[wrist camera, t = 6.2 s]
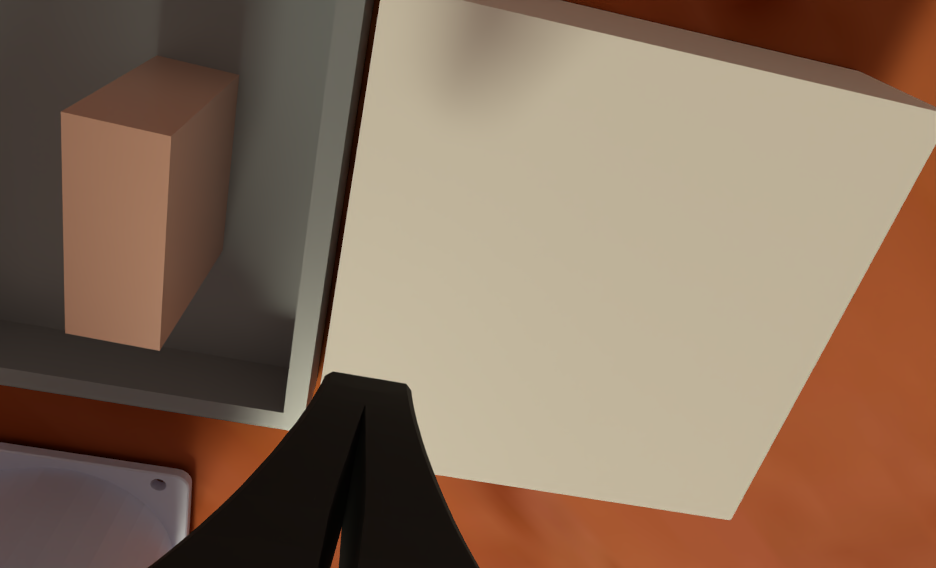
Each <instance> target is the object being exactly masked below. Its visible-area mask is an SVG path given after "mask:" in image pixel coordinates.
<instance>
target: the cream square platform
mask: <svg viewBox="0 0 936 568" xmlns="http://www.w3.org/2000/svg"><path fill="white" fill-rule="evenodd" d="M935 144H936V107H934V106H932V105H930V104H928V103H926V102H923V101H921V100H919V99H917V98H915V97H913V96H911V95H909V94H907V93H904V92H902V91H900V90H898V89H896V88H894V87H892V86H890V85H887V84H885V83H883V82H881V81H879V80H877V79H875V78H873V77H870V76H868V75H866V74H864V73H862V72H860V71H856V70H852V69H848V68H844V67H840V66H835V65H831V64H827V63H823V62H819V61H814V60H810V59H806V58H802V57H798V56H793V55H789V54H785V53H781V52H777V51H772V50H768V49H764V48H760V47H755V46H751V45H747V44H743V43H739V42H734V41H730V40H726V39H722V38H718V37H713V36H709V35H705V34H701V33H697V32H692V31H688V30H684V29H680V28H676V27H671V26H667V25H663V24H659V23H655V22H650V21H646V20H642V19H638V18H634V17H629V16H625V15H621V14H617V13H613V12H608V11H604V10H600V9H596V8H592V7H587V6H583V5H579V4H575V3H570V2H566V1H562V0H380V4H379V11H378V17H377V24H376V30H375V37H374V43H373V49H372V56H371V62H370V69H369V75H368V82H367V88H366V95H365V101H364V108H363V114H362V120H361V127H360V133H359V140H358V146H357V153H356V159H355V166H354V172H353V178H352V185H351V191H350V198H349V204H348V211H347V217H346V224H345V230H344V237H343V243H342V249H341V256H340V262H339V269H338V275H337V282H336V288H335V295H334V301H333V307H332V314H331V320H330V327H329V333H328V340H327V346H326V353H325V359H324V366H323V372H322V378H321V383H322V381H323V379H324V376H325V375H327V374H329V373H331V372H332V371H334V372H340V373H346V374H352V375H358V376H364V377H370V378H376V379H382V380H388V381H394V382H400V383H406V384H407V385H408V387H409V388H410V389H411V392H412V400H413V405H414V410H415V415H416V419H417V423H418V426H419V430H420V433H421V437H422V440H423V443H424V446H425V449H426V452H427V455H428V458H429V461H430V463H431V466H432V469H433V471H434V474H435V475H442V476H448V477H455V478H461V479H468V480H474V481H481V482H487V483H493V484H500V485H506V486H513V487H519V488H526V489H532V490H539V491H545V492H552V493H558V494H564V495H571V496H577V497H584V498H590V499H597V500H603V501H610V502H616V503H622V504H629V505H635V506H642V507H648V508H655V509H661V510H668V511H674V512H681V513H687V514H693V515H700V516H706V517H713V518H719V519H726V520H731V519H732V517H733V515H734V513H735V511H736V509H737V508H738V506H739V504H740V502H741V500H742V498H743V497H744V495H745V493H746V491H747V489H748V487H749V486H750V484H751V482H752V480H753V478H754V476H755V475H756V473H757V471H758V469H759V467H760V465H761V464H762V462H763V460H764V458H765V456H766V454H767V453H768V451H769V449H770V447H771V445H772V443H773V442H774V440H775V438H776V436H777V434H778V432H779V430H780V429H781V427H782V425H783V423H784V421H785V419H786V418H787V416H788V414H789V412H790V410H791V408H792V407H793V405H794V403H795V401H796V399H797V397H798V396H799V394H800V392H801V390H802V388H803V386H804V385H805V383H806V381H807V379H808V377H809V375H810V374H811V372H812V370H813V368H814V366H815V364H816V363H817V361H818V359H819V357H820V355H821V353H822V352H823V350H824V348H825V346H826V344H827V342H828V341H829V339H830V337H831V335H832V333H833V331H834V330H835V328H836V326H837V324H838V322H839V320H840V319H841V317H842V315H843V313H844V311H845V309H846V308H847V306H848V304H849V302H850V300H851V298H852V297H853V295H854V293H855V291H856V289H857V287H858V286H859V284H860V282H861V280H862V278H863V276H864V275H865V273H866V271H867V269H868V267H869V265H870V264H871V262H872V260H873V258H874V256H875V254H876V253H877V251H878V249H879V247H880V245H881V243H882V242H883V240H884V238H885V236H886V234H887V232H888V231H889V229H890V227H891V225H892V223H893V221H894V220H895V218H896V216H897V214H898V212H899V210H900V209H901V207H902V205H903V203H904V201H905V199H906V198H907V196H908V194H909V192H910V190H911V188H912V187H913V185H914V183H915V181H916V179H917V177H918V176H919V174H920V172H921V170H922V168H923V166H924V165H925V163H926V161H927V159H928V157H929V155H930V154H931V152H932V150H933V148H934V146H935Z"/></svg>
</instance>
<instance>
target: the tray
mask: <svg viewBox="0 0 936 568" xmlns="http://www.w3.org/2000/svg"><path fill="white" fill-rule="evenodd" d="M373 6H374V0H0V385H5V386H12V387H18V388H24V389H30V390H37V391H43V392H49V393H56V394H62V395H68V396H75V397H81V398H87V399H94V400H100V401H106V402H113V403H119V404H125V405H131V406H138V407H144V408H150V409H157V410H163V411H169V412H176V413H182V414H188V415H195V416H201V417H207V418H213V419H220V420H226V421H232V422H239V423H245V424H251V425H258V426H264V427H270V428H277V429H283V430H289V431H290V429H291V428H292V427H293V426H294V424H295V423H296V422H297V420H298V419H299V418H300V416H301V415H302V413H303V412H304V411H305V409H306V408H307V406H308V405H309V403H310V402H311V399H312V396H313V392H314V389H315V385H316V381H317V375H318V369H319V362H320V356H321V349H322V342H323V336H324V329H325V323H326V316H327V309H328V303H329V296H330V290H331V283H332V276H333V270H334V263H335V257H336V250H337V243H338V237H339V230H340V224H341V217H342V210H343V204H344V197H345V191H346V184H347V177H348V171H349V164H350V158H351V151H352V144H353V138H354V131H355V125H356V118H357V111H358V105H359V98H360V92H361V85H362V78H363V72H364V65H365V59H366V52H367V45H368V39H369V32H370V26H371V19H372V12H373ZM157 55H158V56H162V57H166V58H170V59H174V60H179V61H183V62H187V63H191V64H196V65H200V66H204V67H208V68H212V69H217V70H221V71H225V72H229V73H234V74H238V75H239V84H238V95H237V105H236V116H235V126H234V137H233V147H232V157H231V168H230V178H229V189H228V199H227V210H226V220H225V231H224V241H223V251H222V252H221V254H220V255H219V257H218V259H217V260H216V262H215V263H214V265H213V267H212V268H211V270H210V271H209V273H208V275H207V276H206V278H205V279H204V281H203V283H202V284H201V286H200V287H199V289H198V290H197V292H196V294H195V295H194V297H193V298H192V300H191V302H190V303H189V305H188V306H187V308H186V310H185V311H184V313H183V314H182V316H181V318H180V319H179V321H178V322H177V324H176V325H175V327H174V329H173V330H172V332H171V333H170V335H169V337H168V338H167V340H166V341H165V343H164V345H163V346H162V348H161V349H160V351H158V350H153V349H147V348H142V347H136V346H131V345H126V344H120V343H115V342H110V341H104V340H99V339H93V338H88V337H83V336H77V335H72V334H67V333H65V300H64V250H63V200H62V150H61V111H63V110H65V109H66V108H68V107H70V106H71V105H73V104H75V103H77V102H78V101H80V100H82V99H83V98H85V97H87V96H88V95H90V94H92V93H94V92H95V91H97V90H99V89H100V88H102V87H104V86H105V85H107V84H109V83H111V82H112V81H114V80H116V79H117V78H119V77H121V76H123V75H124V74H126V73H128V72H129V71H131V70H133V69H134V68H136V67H138V66H140V65H141V64H143V63H145V62H146V61H148V60H150V59H152V58H153V57H155V56H157Z"/></svg>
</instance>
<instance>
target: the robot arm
mask: <svg viewBox="0 0 936 568" xmlns="http://www.w3.org/2000/svg"><path fill="white" fill-rule="evenodd" d="M157 479H160V480H163V481H164V482H160V481H158V480H157ZM191 493H192V479H191V477H190V475H189V474H188V473H187V472H185V471H183V470H180V469H176V468H169V467H163V466H156V465H149V464H143V463H136V462H129V461H122V460H116V459H109V458H102V457H96V456H89V455H82V454H76V453H69V452H62V451H56V450H49V449H42V448H36V447H29V446H22V445H16V444H9V443H2V442H0V568H330V567H331V564H332V560H333V556H334V553H335V549H336V546H337V542H338V539H339V535H340V531H341V528H342V532H341V545H340V559H339V568H479V566H478V564H477V563H476V561H475V559H474V557H473V556H472V554H471V552H470V550H469V548H468V547H467V545H466V543H465V541H464V539H463V537H462V535H461V533H460V531H459V529H458V527H457V525H456V523H455V521H454V519H453V517H452V514H451V512H450V510H449V508H448V506H447V503H446V501H445V499H444V497H443V494H442V492H441V489H440V487H439V485H438V482H437V480H436V477H435V474H434V471H433V469H432V466H431V463H430V461H429V458H428V455H427V452H426V449H425V446H424V443H423V440H422V437H421V433H420V430H419V426H418V423H417V419H416V415H415V410H414V405H413V400H412V392H411V389H410V388H409V387H408V385H407V384H406V383H400V382H394V381H388V380H382V379H376V378H370V377H364V376H358V375H352V374H346V373H340V372H334V371H332V372H331V373H329V374H327V375H325V376H324V379H323V381H322V383H321V385H320V387H319V389H318V390H317V392H316V394H315V395H314V397H313V399H312V400H311V402H310V403H309V405H308V406H307V408H306V409H305V411H304V412H303V413H302V415H301V416H300V418H299V419H298V420H297V422H296V423H295V424H294V426H293V427H292V428H291V429H290V431H289V432H288V433H287V434H286V436H285V437H284V438H283V439H282V441H281V442H280V443H279V444H278V446H277V447H276V448H275V449H274V451H273V452H272V453H271V454H270V455H269V456H268V457H267V458H266V460H265V461H264V462H263V463H262V464H261V465H260V466H259V467H258V468H257V469H256V470H255V472H254V473H253V474H252V475H251V476H250V477H249V478H248V479H247V480H246V481H245V482H244V484H243V485H242V486H241V487H240V488H239V489H238V490H237V491H236V492H235V493H234V494H233V495H232V496H231V497H230V498H229V499H228V500H227V501H226V502H224V503H223V504H222V505H221V506H220V507H219V508H218V509H217V510H216V511H215V512H214V513H213V514H212V515H210V516H209V517H208V518H207V519H206V520H205V521H204V522H203V523H202V524H201V525H199V526H198V527H197V528H196V529H195V530H194V531H192V532H191V533H190V534H189V529H190V511H191Z"/></svg>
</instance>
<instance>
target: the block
mask: <svg viewBox="0 0 936 568" xmlns="http://www.w3.org/2000/svg"><path fill="white" fill-rule="evenodd" d="M238 84H239V75H238V74H234V73H229V72H225V71H221V70H217V69H212V68H208V67H204V66H200V65H196V64H191V63H187V62H183V61H179V60H174V59H170V58H166V57H162V56H158V55H157V56H155V57H153V58H152V59H150V60H148V61H146V62H145V63H143V64H141V65H140V66H138V67H136V68H134V69H133V70H131V71H129V72H128V73H126V74H124V75H123V76H121V77H119V78H117V79H116V80H114V81H112V82H111V83H109V84H107V85H105V86H104V87H102V88H100V89H99V90H97V91H95V92H94V93H92V94H90V95H88V96H87V97H85V98H83V99H82V100H80V101H78V102H77V103H75V104H73V105H71V106H70V107H68V108H66V109H65V110H63V111H61V150H62V200H63V250H64V300H65V333H67V334H72V335H77V336H83V337H88V338H93V339H99V340H104V341H110V342H115V343H120V344H126V345H131V346H136V347H142V348H147V349H153V350H158V351H160V349H161V348H162V346H163V345H164V343H165V341H166V340H167V338H168V337H169V335H170V333H171V332H172V330H173V329H174V327H175V325H176V324H177V322H178V321H179V319H180V318H181V316H182V314H183V313H184V311H185V310H186V308H187V306H188V305H189V303H190V302H191V300H192V298H193V297H194V295H195V294H196V292H197V290H198V289H199V287H200V286H201V284H202V283H203V281H204V279H205V278H206V276H207V275H208V273H209V271H210V270H211V268H212V267H213V265H214V263H215V262H216V260H217V259H218V257H219V255H220V254H221V252H222V251H223V241H224V231H225V220H226V210H227V199H228V189H229V178H230V168H231V157H232V147H233V137H234V126H235V116H236V105H237V95H238Z"/></svg>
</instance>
